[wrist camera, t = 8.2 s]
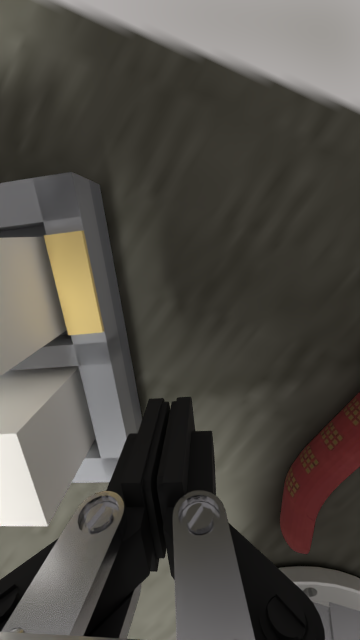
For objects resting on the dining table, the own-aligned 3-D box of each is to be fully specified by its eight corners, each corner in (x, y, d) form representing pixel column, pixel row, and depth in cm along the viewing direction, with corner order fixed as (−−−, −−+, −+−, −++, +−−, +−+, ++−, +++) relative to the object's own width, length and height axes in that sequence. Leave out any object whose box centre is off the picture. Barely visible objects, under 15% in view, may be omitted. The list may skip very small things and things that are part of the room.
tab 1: (98, 431, 15) (47, 526, 10) (29, 434, 15) (-51, 525, 11) (82, 363, 14) (16, 433, 9) (7, 368, 14) (-94, 437, 9)
